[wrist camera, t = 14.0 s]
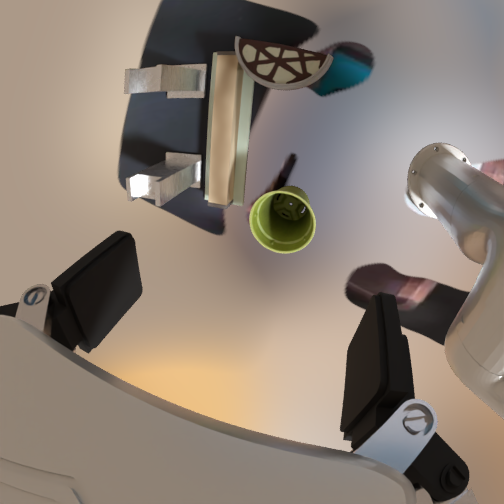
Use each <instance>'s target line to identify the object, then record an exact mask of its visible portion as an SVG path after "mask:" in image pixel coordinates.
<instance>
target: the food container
mask: <svg viewBox="0 0 504 504" xmlns="http://www.w3.org/2000/svg"><path fill="white" fill-rule="evenodd" d="M235 53H236V57H237V59H238V62H239V63H240V65H241V67H242V68H243V70H244V71H245V72H246V73H247V75H248V76H249V77H251V78H252V79H253V80H254V81H256V82H257V83H259V84H261V85H263V86H265V87H269V88H272V89H277V90H294V89H299V88H303V87H306V86H308V85H311V84H312V83H314V82H316V81H317V80H318V79H320V78H321V77H322V76H323V75H324V74H325V73H326V71H327V70H328V69H329V67H330V65H331V63H332V61H333V57H332V55H329V53H328V55H324V54H321V53H316V52H312V51H308V50H304V49H300V48H296V47H291V46H287V45H283V44H277V43H270V42H264V41H257V40H250V39H242V38H240V37H238V36H236V37H235Z"/></svg>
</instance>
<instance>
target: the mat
mask: <svg viewBox="0 0 504 504" xmlns="http://www.w3.org/2000/svg"><path fill="white" fill-rule="evenodd" d="M217 56H218V55H217V52H216V53H213V62H212V73H211V85H210V98H209V113H208V130H207V150H206V176H205V200H208V199H209V171H210V150H211V132H212V116H213V102H214V89H215V77H216V66H217ZM254 82H255V81H254V80H253V79H252V78H251V77H249V76H248V75H247V73H246V72H245V71H244V74H243V84H242V94H241V105H240V117H239V128H238V140H237V153H236V165H235V179H234V193H233V203H232V204H234V205H239V206H243V204H244V191H245V180H246V169H247V157H248V146H249V135H250V124H251V113H252V103H253V93H254Z"/></svg>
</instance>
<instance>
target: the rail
mask: <svg viewBox="0 0 504 504" xmlns="http://www.w3.org/2000/svg"><path fill="white" fill-rule="evenodd" d="M217 55H218V56H217V66H216V77H215V89H214V102H213V116H212V132H211V150H210V171H209V199H208V206H212V207H217V208H223V209H227V208H228V207H229V206H230V205H231V204H232V203H233V193H234V179H235V165H236V153H237V140H238V128H239V117H240V105H241V94H242V84H243V74H244V70H243V68H242V67H241V65H240V63H239V62H238V59H237V57H236V53H235V51H217Z"/></svg>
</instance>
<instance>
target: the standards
mask: <svg viewBox="0 0 504 504" xmlns="http://www.w3.org/2000/svg"><path fill="white" fill-rule="evenodd" d="M207 71H208V64H190V65H175V66H171V65H163V64H161V65H157V66H156V67H150V68H143V69H126V70H125V87H124V89H125V90H124V94H129V93H144V92H168V93H167V98H205V97H206V83H207ZM201 183H202V155H201V154H190V153H179V152H166V160H164V161H162V162H160V163H157V164H155V165H153V166H151V167H148V168H146V169H144V170H142V171H140V172H138V173H136V174H133V175H131V176H129V177H127V178H126V185H127V197H128V201H134V200H135V199H137V198H138V197H144V198H150V199H155V200H156V206H162V205H163V204H165V203H166V202H168V201H169V200H170V199H172V198H173V197H175V196H176V195H178V194H179V193H181V192H182V191H184V190H185V189H187V188H188V187H195V188H201Z"/></svg>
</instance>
